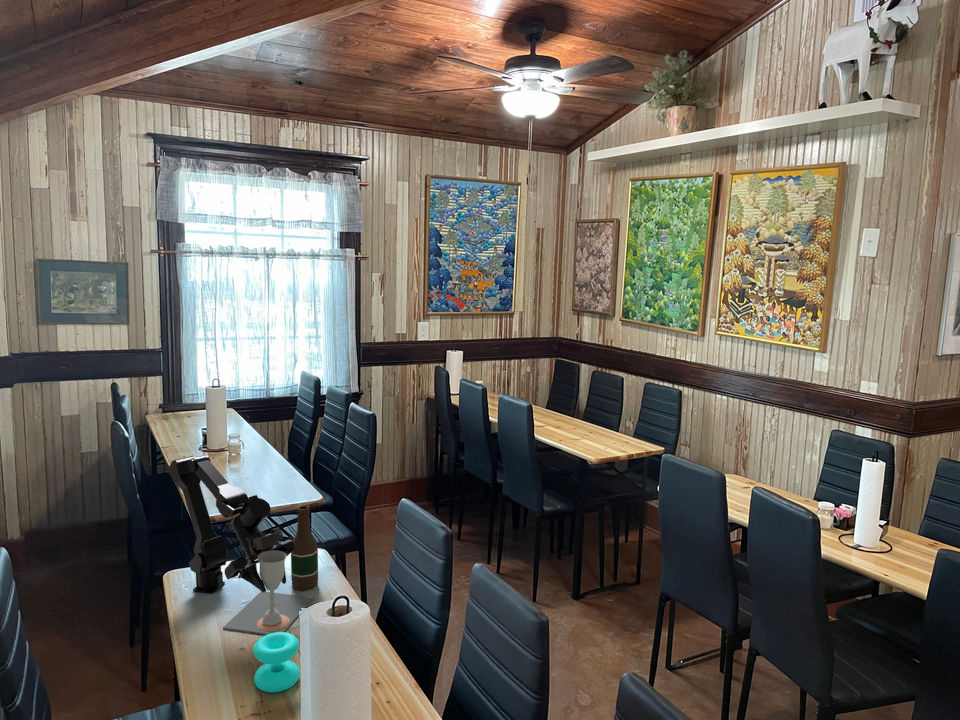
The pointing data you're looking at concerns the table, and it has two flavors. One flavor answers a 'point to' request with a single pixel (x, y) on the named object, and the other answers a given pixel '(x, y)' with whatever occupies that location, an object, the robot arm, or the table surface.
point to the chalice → (272, 580)
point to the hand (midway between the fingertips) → (275, 587)
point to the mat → (256, 609)
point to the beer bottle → (304, 554)
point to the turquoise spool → (276, 662)
